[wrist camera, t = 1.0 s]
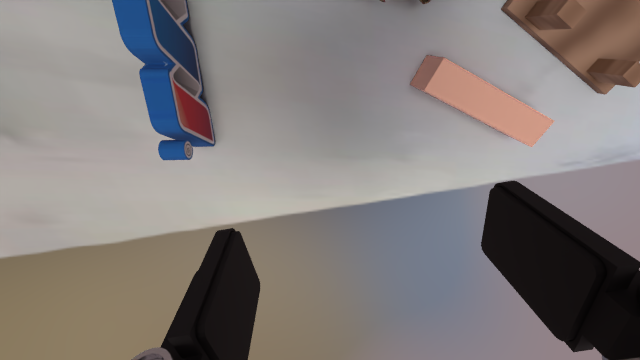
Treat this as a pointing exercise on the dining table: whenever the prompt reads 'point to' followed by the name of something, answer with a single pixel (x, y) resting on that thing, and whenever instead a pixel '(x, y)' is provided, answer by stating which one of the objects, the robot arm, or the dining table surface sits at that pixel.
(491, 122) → the clay strip
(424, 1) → the dragon fruit
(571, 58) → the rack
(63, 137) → the dining table surface
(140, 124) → the dining table surface
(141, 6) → the logo
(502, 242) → the robot arm
